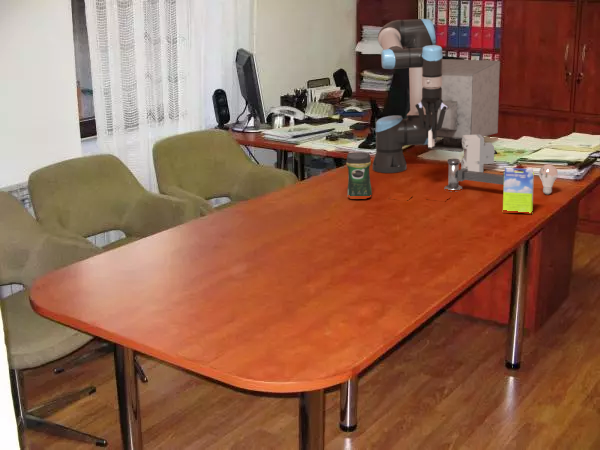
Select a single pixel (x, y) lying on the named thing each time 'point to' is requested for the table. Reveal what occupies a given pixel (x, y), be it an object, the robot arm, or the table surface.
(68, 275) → the table surface
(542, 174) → the light bulb
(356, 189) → the coffee jar
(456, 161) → the post
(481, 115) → the crt monitor
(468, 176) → the swing bar
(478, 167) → the circuit breaker
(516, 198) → the box
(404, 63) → the robot arm
